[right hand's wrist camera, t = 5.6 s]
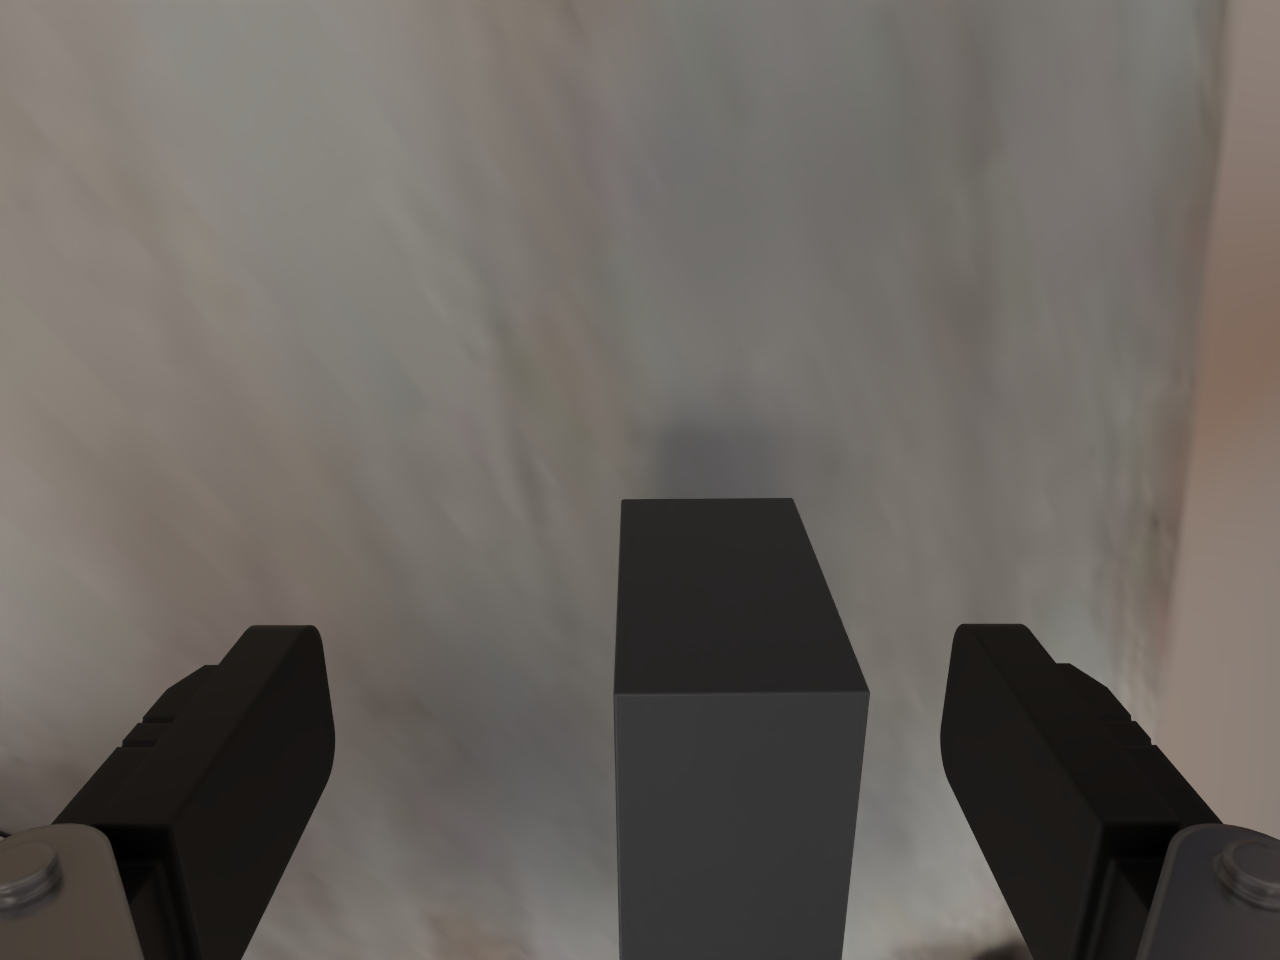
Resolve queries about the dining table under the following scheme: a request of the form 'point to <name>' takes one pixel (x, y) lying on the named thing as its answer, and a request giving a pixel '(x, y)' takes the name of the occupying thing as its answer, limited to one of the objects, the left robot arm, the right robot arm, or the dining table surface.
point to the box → (732, 736)
